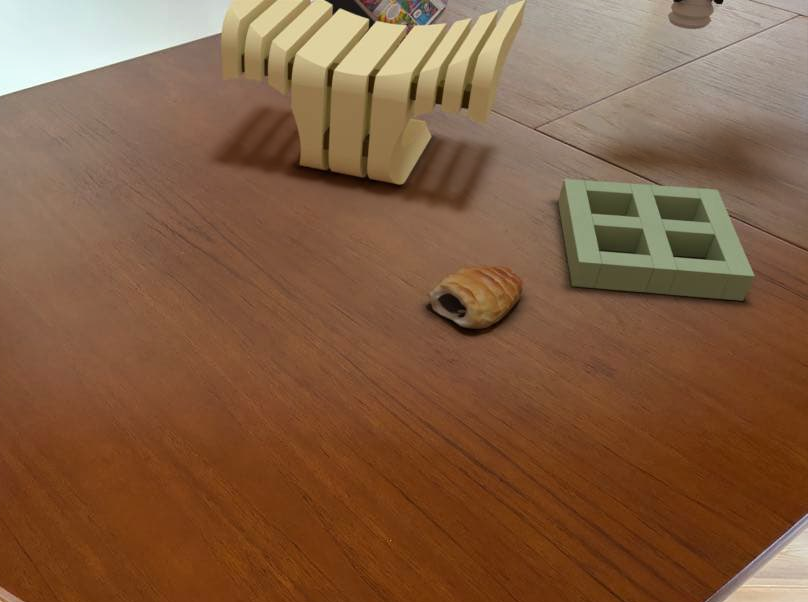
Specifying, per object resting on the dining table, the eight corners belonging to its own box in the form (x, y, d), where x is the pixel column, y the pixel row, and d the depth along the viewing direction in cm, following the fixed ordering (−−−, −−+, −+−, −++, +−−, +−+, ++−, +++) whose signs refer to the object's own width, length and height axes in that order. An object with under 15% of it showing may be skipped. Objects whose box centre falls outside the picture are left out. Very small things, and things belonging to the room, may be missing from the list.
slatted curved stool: (226, 162, 105) (219, 11, 93) (275, 109, 116) (275, -34, 103) (468, 210, 97) (496, 51, 84) (497, 148, 107) (526, -2, 95)
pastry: (485, 271, 88) (492, 240, 85) (538, 303, 84) (546, 271, 82) (421, 306, 84) (426, 274, 81) (473, 341, 80) (480, 309, 77)
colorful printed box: (432, -4, 133) (384, -112, 121) (501, 41, 117) (454, -77, 105) (325, 79, 136) (268, -18, 124) (379, 133, 121) (319, 29, 109)
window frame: (708, 213, 96) (717, 189, 94) (743, 301, 84) (755, 276, 82) (557, 202, 98) (564, 178, 96) (571, 286, 86) (578, 261, 84)
